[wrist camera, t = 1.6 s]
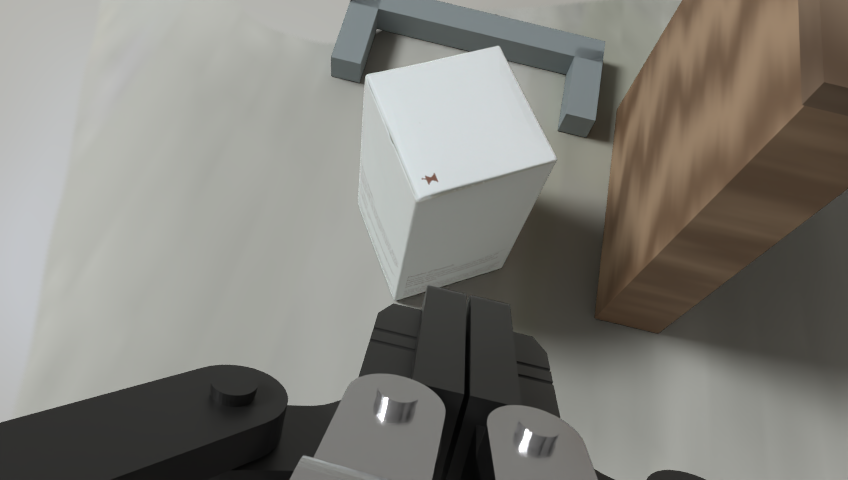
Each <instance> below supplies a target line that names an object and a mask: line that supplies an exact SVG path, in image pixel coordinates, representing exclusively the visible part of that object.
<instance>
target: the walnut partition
mask: <svg viewBox="0 0 848 480" xmlns="http://www.w3.org/2000/svg"><path fill="white" fill-rule="evenodd" d="M847 189H848V0H682V2H681V3H680V5H679V7H678V8H677V10H676V12H675V13H674V15H673V17H672V18H671V20H670V22H669V23H668V25H667V27H666V28H665V30H664V32H663V33H662V35H661V37H660V38H659V40H658V42H657V43H656V45H655V47H654V49H653V50H652V52H651V54H650V55H649V57H648V59H647V60H646V62H645V64H644V65H643V67H642V69H641V70H640V72H639V74H638V75H637V77H636V79H635V80H634V82H633V84H632V85H631V87H630V89H629V90H628V92H627V94H626V95H625V97H624V99H623V100H622V102H621V104H620V105H619V107H618V109H617V114H616V123H615V133H614V142H613V151H612V160H611V170H610V179H609V188H608V197H607V207H606V216H605V225H604V234H603V244H602V253H601V262H600V271H599V281H598V290H597V299H596V308H595V318H596V319H600V320H604V321H608V322H612V323H616V324H621V325H625V326H629V327H633V328H637V329H642V330H646V331H650V332H654V333H660V332H661V331H662V330H663V329H665V328H666V327H667V326H669V325H670V324H671V323H673V322H674V321H675V320H677V319H678V318H679V317H680V316H682V315H683V314H684V313H686V312H687V311H688V310H690V309H691V308H692V307H694V306H695V305H696V304H697V303H699V302H700V301H701V300H703V299H704V298H705V297H707V296H708V295H709V294H711V293H712V292H713V291H714V290H716V289H717V288H718V287H720V286H721V285H722V284H724V283H725V282H726V281H728V280H729V279H730V278H732V277H733V276H734V275H735V274H737V273H738V272H739V271H741V270H742V269H743V268H745V267H746V266H747V265H749V264H750V263H751V262H752V261H754V260H755V259H756V258H758V257H759V256H760V255H762V254H763V253H764V252H766V251H767V250H768V249H769V248H771V247H772V246H773V245H775V244H776V243H777V242H779V241H780V240H781V239H783V238H784V237H785V236H786V235H788V234H789V233H790V232H792V231H793V230H794V229H796V228H797V227H798V226H800V225H801V224H802V223H803V222H805V221H806V220H807V219H809V218H810V217H811V216H813V215H814V214H815V213H817V212H818V211H819V210H821V209H822V208H823V207H824V206H826V205H827V204H828V203H830V202H831V201H832V200H834V199H835V198H836V197H838V196H839V195H840V194H841V193H843V192H844V191H845V190H847Z"/></svg>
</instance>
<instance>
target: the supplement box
mask: <svg viewBox="0 0 848 480" xmlns="http://www.w3.org/2000/svg"><path fill="white" fill-rule="evenodd" d="M556 161H557V157H556V155H555V153H554V151H553V149H552V147H551V145H550V143H549V141H548V139H547V138H546V136H545V134H544V132H543V130H542V128H541V126H540V124H539V122H538V120H537V118H536V116H535V114H534V112H533V110H532V108H531V106H530V104H529V102H528V100H527V99H526V97H525V95H524V93H523V91H522V89H521V87H520V85H519V83H518V81H517V79H516V77H515V75H514V73H513V71H512V69H511V67H510V65H509V63H508V61H507V59H506V58H505V56H504V54H503V52H502V50H501V48H500V46H495V47H490V48H486V49H481V50H477V51H472V52H468V53H464V54H459V55H455V56H450V57H446V58H441V59H437V60H433V61H429V62H425V63H420V64H415V65H410V66H405V67H400V68H395V69H390V70H386V71H381V72H376V73H371V74H367V75H366V76H365V87H364V99H363V117H362V138H361V158H360V177H359V191H358V205H359V208H360V211H361V214H362V217H363V219H364V222H365V225H366V228H367V230H368V233H369V236H370V238H371V241H372V244H373V246H374V249H375V252H376V254H377V257H378V259H379V262H380V265H381V267H382V270H383V273H384V275H385V278H386V281H387V283H388V286H389V288H390V291H391V294H392V297H393V299H394V300H395V301H396V300H400V299H403V298H406V297H410V296H413V295H416V294H419V293H423V292H426V288H427V285H430V286H434V287H442V286H445V285H449V284H452V283H455V282H459V281H462V280H465V279H468V278H472V277H475V276H478V275H481V274H484V273H488V272H490V271H493V270H497V269H500V268H501V267H502V266H503V265H504V263H505V261H506V259H507V257H508V255H509V253H510V251H511V249H512V247H513V245H514V243H515V241H516V239H517V237H518V235H519V233H520V231H521V229H522V227H523V225H524V223H525V221H526V219H527V217H528V215H529V214H530V212H531V210H532V208H533V206H534V204H535V202H536V200H537V198H538V196H539V194H540V192H541V190H542V188H543V186H544V184H545V182H546V180H547V178H548V176H549V174H550V172H551V170H552V169H553V167H554V165H555V163H556Z"/></svg>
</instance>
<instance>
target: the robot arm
mask: <svg viewBox="0 0 848 480" xmlns="http://www.w3.org/2000/svg"><path fill="white" fill-rule="evenodd" d="M549 371H550V366H549V362H548V357H547V353H546V352H545V350H544V349H543V348H542V347H541V346H540V345H539V344H538V342H537V341H536V340H535V339H534V338H533V337H532V336H528V335H523V334H519V333H515V332H513V328H512V320H511V311H510V305H509V304H506V303H502V302H498V301H493V300H489V299H485V298H481V297H477V296H473V295H470V296H469V299H468V301H467V304H466V294H464V293H460V292H455V291H451V290H447V289H443V288H439V287H434V286H430V285H427V288H426V292H425V296H424V300H423V304H422V308H421V310H418V309H414V308H410V307H406V306H402V305H397V304H392V305H390V306H389V307H387V308H385V309H384V310H382V311H381V312H379V313H378V315H377V319H376V322H375V325H374V329H373V332H372V335H371V338H370V342H369V345H368V348H367V351H366V355H365V358H364V361H363V364H362V368H361V371H360V374H359V377H358V378H357V379H355V380H354V381H352V382H351V383H350V384H349V386H348V387H347V389H346V391H345V393H344V395H343V398H342V400H340V401H337V402H334V403H330V404H326V405H318V406H291V405H287V403H288V396H287V393H286V390H285V389H284V387H283V386H282V385H281V384H280V383H279V382H278V381H277V380H276V379H274V378H273V377H272V376H270V375H268V374H266V373H264V372H261V371H259V370H256V369H253V368H249V367H244V366H237V365H215V366H208V367H204V368H200V369H196V370H192V371H189V372H185V373H181V374H178V375H174V376H170V377H167V378H163V379H159V380H156V381H152V382H148V383H145V384H141V385H137V386H134V387H130V388H126V389H122V390H119V391H115V392H111V393H108V394H104V395H100V396H97V397H93V398H89V399H86V400H82V401H78V402H75V403H71V404H67V405H64V406H60V407H56V408H53V409H49V410H45V411H41V412H38V413H34V414H30V415H27V416H23V417H19V418H16V419H12V420H8V421H5V422H1V423H0V480H614V479H612V478H610V477H608V476H606V475H604V474H602V473H600V472H599V471H597V470H595V469H594V468H593V465H592V462H591V459H590V457H589V454H588V451H587V448H586V446H585V443H584V441H583V439H582V438H581V436H580V435H579V433H578V432H577V431H576V430H575V429H574V428H573V427H571V426H570V425H569V424H568V423H566V422H565V421H563V420H562V419H560V414H559V410H558V405H557V400H556V395H555V390H554V386H553V385H552V383H553V381H552V376H551V372H549ZM647 480H705V479H703V478H701V477H698V476H696V475H693V474H689V473H686V472H681V471H675V470H662V471H657V472H655V473H653V474H651V475H650V476H649V477H648V478H647Z"/></svg>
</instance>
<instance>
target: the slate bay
mask: <svg viewBox="0 0 848 480" xmlns="http://www.w3.org/2000/svg"><path fill="white" fill-rule="evenodd" d="M376 29H380V30H384V31H388V32H392V33H397V34H401V35H405V36H409V37H413V38H417V39H421V40H425V41H430V42H434V43H438V44H442V45H446V46H450V47H454V48H459V49H463V50H467V51H471V52H472V51H477V50H481V49H486V48H490V47H495V46H500V48H501V50H502V52H503V54H504V56H505V58H506V59H507V60H508V61H512V62H516V63H520V64H525V65H529V66H533V67H537V68H541V69H545V70H549V71H553V72H558V73H562V74H566V80H565V86H564V93H563V99H562V106H561V113H560V119H559V126H558V131H561V132H565V133H570V134H574V135H578V136H582V137H587V135H588V133H589V131H590V129H591V128H592V126H593V124H594V122H595V120H596V112H597V104H598V96H599V88H600V80H601V72H602V64H603V56H604V48H605V41H601V40H597V39H593V38H589V37H585V36H581V35H577V34H573V33H569V32H564V31H560V30H556V29H552V28H548V27H544V26H540V25H536V24H531V23H527V22H523V21H519V20H515V19H511V18H507V17H503V16H498V15H494V14H490V13H486V12H482V11H478V10H474V9H470V8H466V7H461V6H457V5H453V4H449V3H445V2H440V1H437V0H351V1H350V4H349V6H348V10H347V12H346V15H345V18H344V21H343V24H342V27H341V30H340V33H339V35H338V38H337V41H336V44H335V47H334V50H333V53H332V56H331V76H333V77H338V78H342V79H346V80H350V81H354V82H358V83H360V80H361V77H362V74H363V71H364V68H365V64H366V61H367V58H368V55H369V52H370V48H371V45H372V42H373V39H374V36H375V33H376Z"/></svg>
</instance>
